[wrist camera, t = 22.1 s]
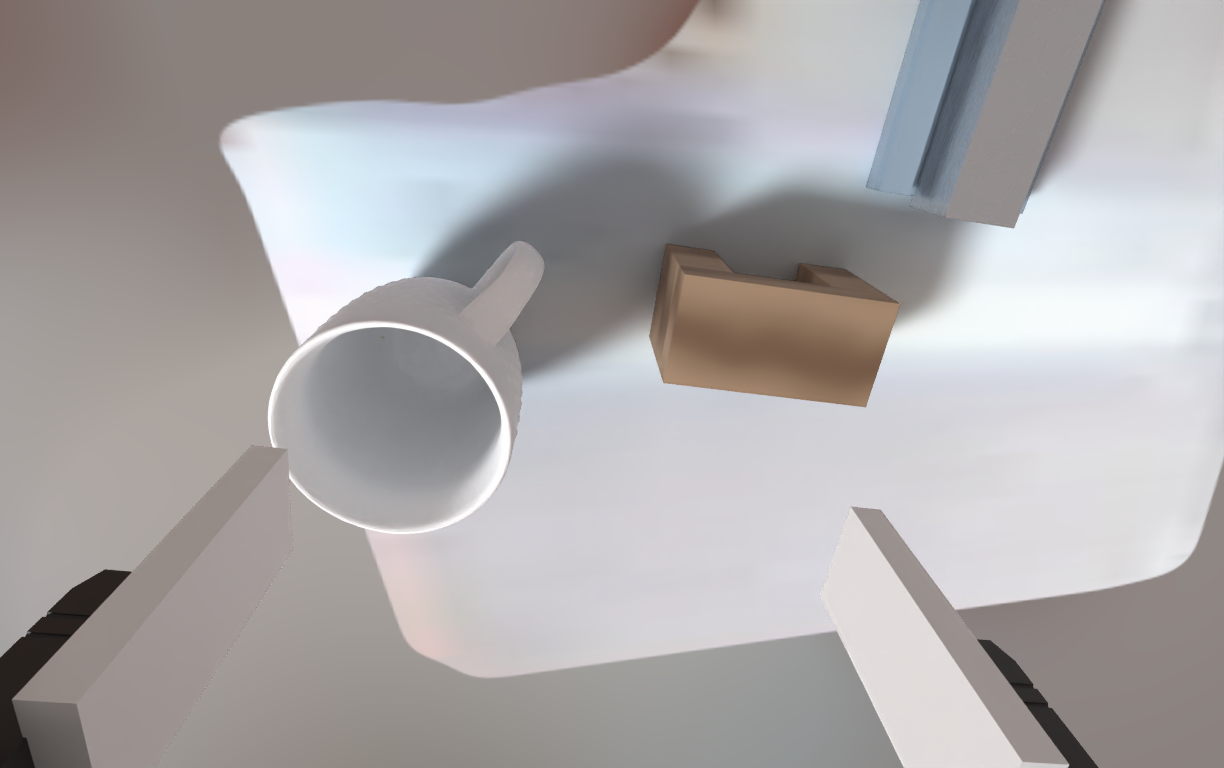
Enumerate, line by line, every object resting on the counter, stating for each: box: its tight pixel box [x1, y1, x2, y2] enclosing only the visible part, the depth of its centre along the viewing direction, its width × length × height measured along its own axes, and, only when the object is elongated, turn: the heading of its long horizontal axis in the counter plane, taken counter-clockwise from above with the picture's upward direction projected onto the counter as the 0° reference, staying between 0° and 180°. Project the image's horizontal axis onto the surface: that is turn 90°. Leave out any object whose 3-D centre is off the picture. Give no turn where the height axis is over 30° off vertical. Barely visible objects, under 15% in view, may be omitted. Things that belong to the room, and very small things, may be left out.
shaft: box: [910, 0, 1103, 228], centre depth 34 cm, size 15×4×4 cm, turn 171°
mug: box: [268, 241, 545, 534], centre depth 35 cm, size 15×11×13 cm
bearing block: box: [649, 244, 900, 407], centre depth 38 cm, size 6×12×8 cm, turn 81°
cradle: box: [866, 0, 1106, 214], centre depth 36 cm, size 12×9×2 cm
